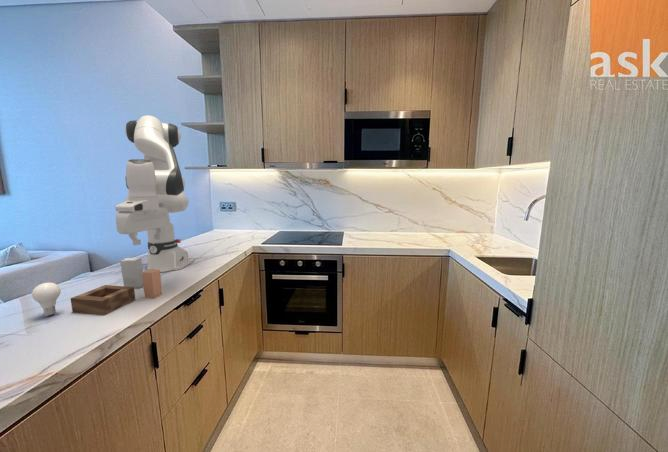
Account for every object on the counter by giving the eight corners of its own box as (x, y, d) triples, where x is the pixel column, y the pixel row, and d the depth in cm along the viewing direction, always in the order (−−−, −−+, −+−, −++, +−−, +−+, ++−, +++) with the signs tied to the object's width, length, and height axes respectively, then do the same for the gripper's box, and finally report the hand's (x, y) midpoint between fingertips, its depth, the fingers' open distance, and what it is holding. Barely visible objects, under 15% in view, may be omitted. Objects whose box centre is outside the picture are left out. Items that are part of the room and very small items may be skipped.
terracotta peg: (153, 293, 106) (150, 269, 104) (162, 294, 105) (159, 269, 104) (144, 297, 102) (142, 272, 100) (154, 298, 101) (151, 273, 100)
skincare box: (145, 284, 115) (142, 257, 113) (139, 288, 111) (136, 260, 109) (130, 285, 114) (126, 257, 113) (122, 289, 110) (119, 260, 108)
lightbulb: (69, 310, 91) (64, 279, 90) (50, 320, 85) (45, 286, 83) (50, 310, 91) (44, 279, 89) (29, 320, 85) (23, 286, 83)
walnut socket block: (107, 297, 102) (105, 284, 101) (135, 299, 100) (134, 286, 100) (72, 312, 90) (70, 298, 89) (104, 315, 89) (102, 300, 88)
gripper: (158, 202, 109) (161, 236, 111) (110, 206, 89) (115, 247, 91) (172, 202, 108) (175, 236, 110) (127, 207, 88) (131, 248, 90)
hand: (147, 241), depth 100 cm, fingers open, 8 cm apart
